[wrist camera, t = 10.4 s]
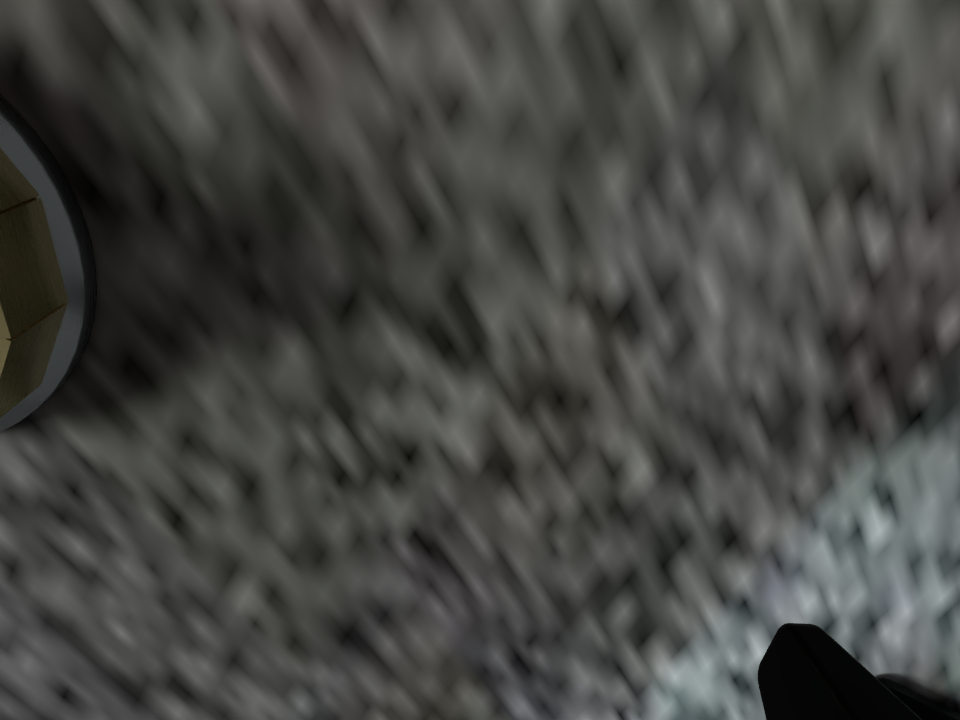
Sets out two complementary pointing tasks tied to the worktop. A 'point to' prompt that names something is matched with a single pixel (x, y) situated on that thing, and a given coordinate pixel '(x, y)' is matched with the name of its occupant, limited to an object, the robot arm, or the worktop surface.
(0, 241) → the collar socket
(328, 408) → the worktop surface
